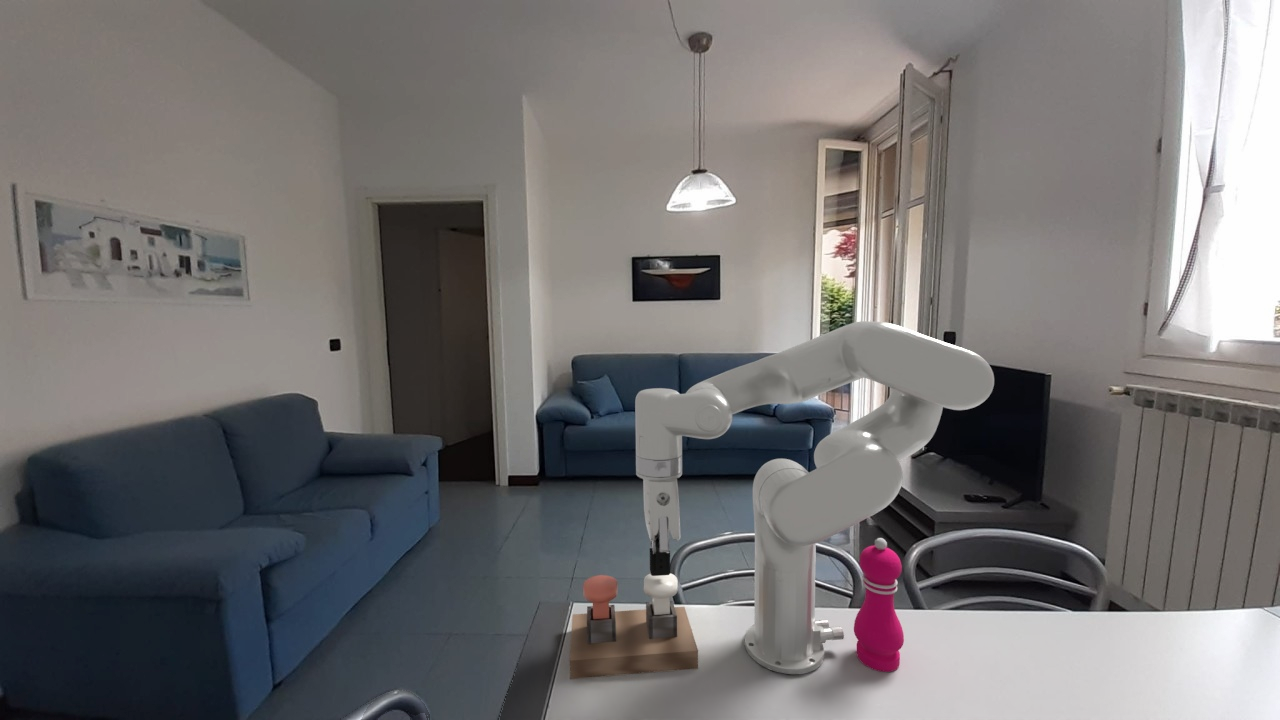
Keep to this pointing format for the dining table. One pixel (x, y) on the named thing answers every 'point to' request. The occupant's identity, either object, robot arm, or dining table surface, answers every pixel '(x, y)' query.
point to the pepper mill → (879, 609)
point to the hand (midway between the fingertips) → (659, 572)
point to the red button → (600, 594)
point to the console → (631, 643)
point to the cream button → (661, 591)
